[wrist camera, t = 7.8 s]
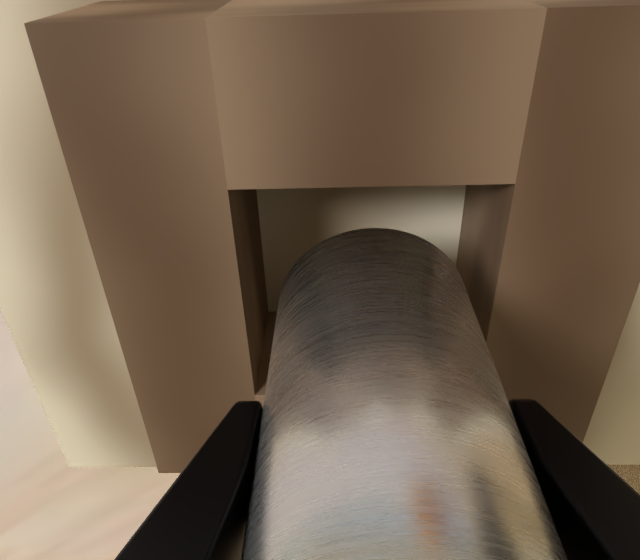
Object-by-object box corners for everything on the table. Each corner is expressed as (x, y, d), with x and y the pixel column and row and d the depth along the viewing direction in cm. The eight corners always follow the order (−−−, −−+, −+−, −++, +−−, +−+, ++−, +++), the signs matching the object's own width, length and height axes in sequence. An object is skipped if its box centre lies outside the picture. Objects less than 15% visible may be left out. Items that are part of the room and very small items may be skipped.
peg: (478, 226, 10) (1126, 1528, 2) (455, 379, 12) (708, 1297, 4) (271, 229, 10) (15, 1461, 2) (284, 380, 13) (187, 1273, 4)
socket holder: (967, -294, 10) (1372, -441, 6) (640, 443, 21) (710, 557, 17) (-202, -241, 10) (-506, -342, 7) (79, 446, 21) (25, 556, 17)
